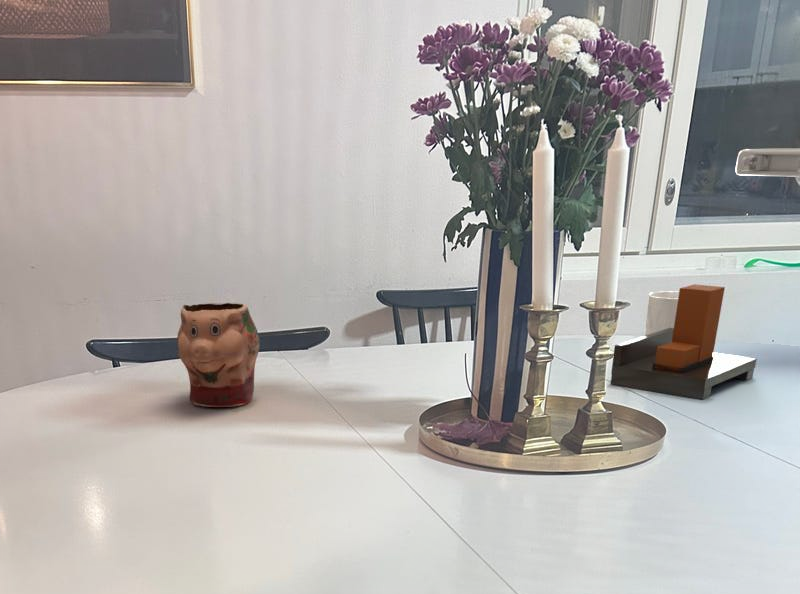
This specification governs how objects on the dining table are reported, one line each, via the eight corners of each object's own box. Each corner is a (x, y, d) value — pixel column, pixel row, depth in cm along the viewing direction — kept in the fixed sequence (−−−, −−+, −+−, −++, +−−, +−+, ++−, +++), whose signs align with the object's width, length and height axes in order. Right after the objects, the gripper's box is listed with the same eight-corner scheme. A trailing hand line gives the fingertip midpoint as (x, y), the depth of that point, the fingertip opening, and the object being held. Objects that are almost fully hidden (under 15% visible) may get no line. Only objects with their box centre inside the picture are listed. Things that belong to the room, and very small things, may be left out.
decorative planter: (192, 384, 153) (184, 294, 146) (266, 382, 152) (262, 292, 146) (172, 416, 135) (162, 316, 129) (256, 415, 135) (251, 314, 128)
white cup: (697, 357, 162) (708, 296, 157) (660, 361, 160) (669, 299, 155) (668, 348, 168) (677, 290, 164) (631, 352, 166) (639, 293, 161)
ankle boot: (713, 361, 145) (726, 286, 140) (683, 373, 139) (695, 295, 134) (682, 357, 149) (694, 284, 143) (652, 368, 142) (663, 292, 137)
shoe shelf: (753, 377, 148) (760, 338, 145) (702, 399, 137) (709, 358, 134) (664, 364, 158) (669, 327, 155) (609, 384, 146) (614, 345, 144)
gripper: (770, 138, 152) (716, 140, 145) (897, 137, 137) (843, 140, 130) (762, 181, 155) (709, 185, 148) (885, 185, 140) (832, 190, 133)
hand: (773, 164), depth 139 cm, fingers open, 8 cm apart
